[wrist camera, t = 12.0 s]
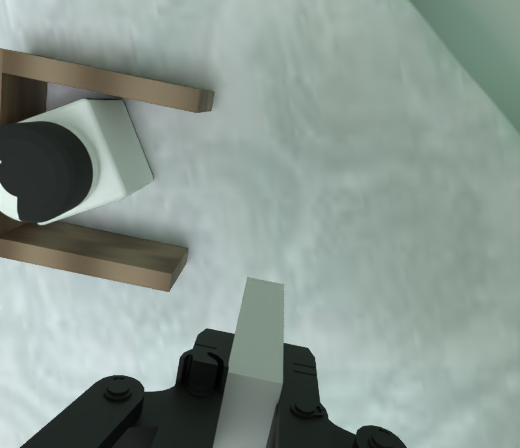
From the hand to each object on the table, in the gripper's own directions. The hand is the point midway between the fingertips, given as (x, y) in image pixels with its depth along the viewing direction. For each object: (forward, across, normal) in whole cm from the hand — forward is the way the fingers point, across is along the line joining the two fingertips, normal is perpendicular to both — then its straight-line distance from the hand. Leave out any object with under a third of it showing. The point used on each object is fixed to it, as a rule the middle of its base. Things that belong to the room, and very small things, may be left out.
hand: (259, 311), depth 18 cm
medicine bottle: (+21, +15, -1) cm, 25 cm away
